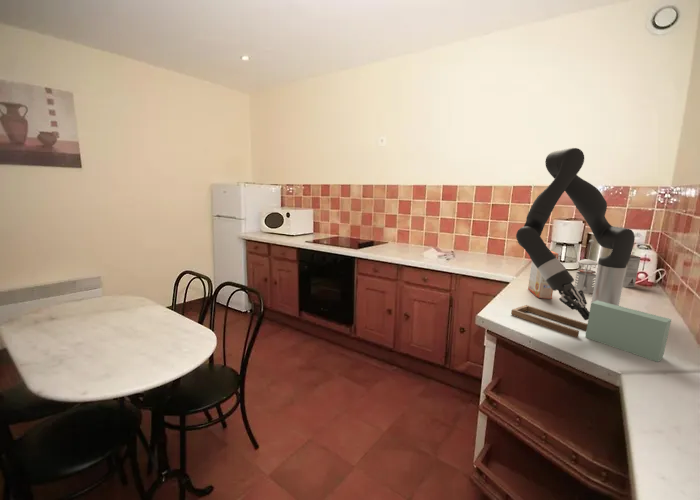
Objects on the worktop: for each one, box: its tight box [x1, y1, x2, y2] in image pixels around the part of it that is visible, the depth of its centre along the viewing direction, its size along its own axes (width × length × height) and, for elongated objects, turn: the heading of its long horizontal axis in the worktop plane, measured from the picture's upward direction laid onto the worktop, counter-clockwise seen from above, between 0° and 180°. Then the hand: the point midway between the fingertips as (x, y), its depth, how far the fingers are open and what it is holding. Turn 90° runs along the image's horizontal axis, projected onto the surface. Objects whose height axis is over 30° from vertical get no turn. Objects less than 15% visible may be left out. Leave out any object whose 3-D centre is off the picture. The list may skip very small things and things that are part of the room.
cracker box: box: [527, 250, 559, 300], centre depth 148 cm, size 14×6×21 cm, turn 168°
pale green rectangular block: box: [585, 300, 672, 363], centre depth 99 cm, size 4×18×12 cm, turn 33°
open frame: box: [511, 304, 588, 338], centre depth 118 cm, size 10×22×2 cm, turn 33°
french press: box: [573, 239, 598, 294], centre depth 155 cm, size 10×12×25 cm
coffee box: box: [622, 254, 642, 288], centre depth 167 cm, size 9×6×16 cm
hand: (589, 318), depth 107 cm, fingers closed
